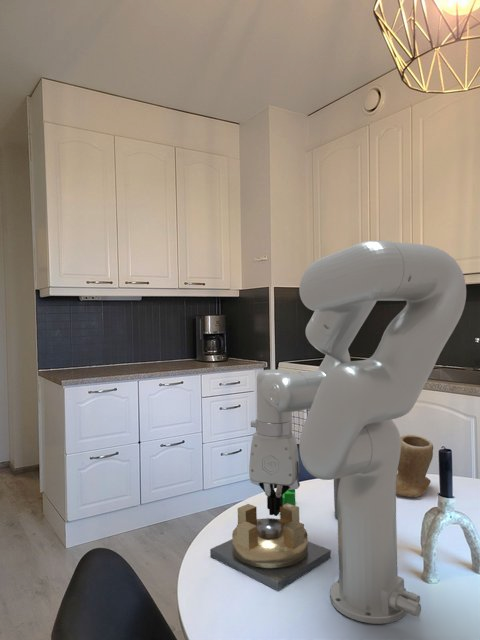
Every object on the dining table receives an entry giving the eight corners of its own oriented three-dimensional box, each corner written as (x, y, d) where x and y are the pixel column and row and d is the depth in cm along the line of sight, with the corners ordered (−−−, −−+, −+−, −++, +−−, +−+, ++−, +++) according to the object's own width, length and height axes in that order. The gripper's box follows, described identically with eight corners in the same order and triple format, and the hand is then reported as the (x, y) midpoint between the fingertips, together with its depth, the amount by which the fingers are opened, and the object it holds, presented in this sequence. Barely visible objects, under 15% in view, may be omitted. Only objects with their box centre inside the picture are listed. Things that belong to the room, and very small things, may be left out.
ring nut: (323, 547, 95) (322, 513, 95) (272, 577, 84) (272, 538, 84) (267, 526, 106) (266, 495, 106) (217, 549, 95) (216, 515, 95)
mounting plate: (330, 557, 94) (330, 549, 94) (278, 591, 83) (277, 581, 83) (264, 530, 107) (263, 523, 107) (210, 556, 96) (210, 548, 96)
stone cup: (428, 504, 120) (426, 445, 121) (381, 495, 127) (380, 439, 127) (441, 486, 133) (440, 433, 133) (398, 479, 140) (397, 428, 140)
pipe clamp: (295, 517, 115) (295, 498, 115) (280, 516, 115) (279, 497, 115) (295, 499, 126) (294, 482, 126) (281, 499, 126) (280, 481, 126)
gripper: (235, 429, 101) (236, 515, 101) (304, 435, 95) (305, 525, 96) (247, 421, 108) (248, 501, 108) (312, 426, 102) (313, 511, 103)
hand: (275, 512), depth 102 cm, fingers closed
